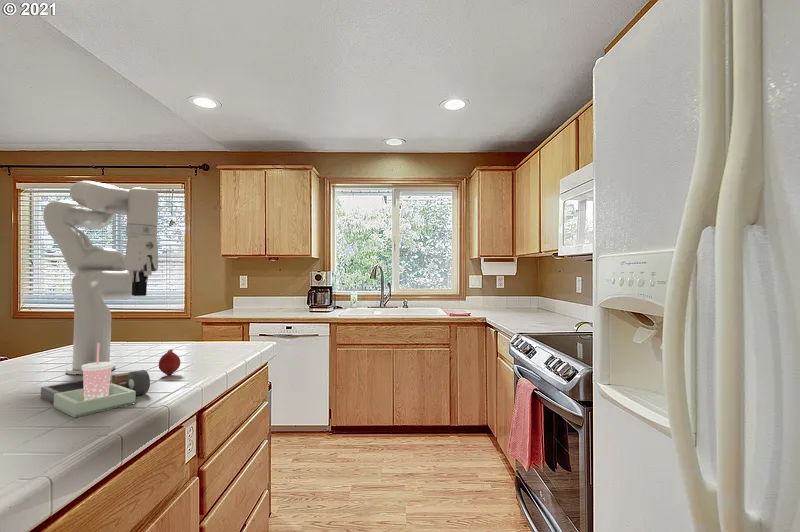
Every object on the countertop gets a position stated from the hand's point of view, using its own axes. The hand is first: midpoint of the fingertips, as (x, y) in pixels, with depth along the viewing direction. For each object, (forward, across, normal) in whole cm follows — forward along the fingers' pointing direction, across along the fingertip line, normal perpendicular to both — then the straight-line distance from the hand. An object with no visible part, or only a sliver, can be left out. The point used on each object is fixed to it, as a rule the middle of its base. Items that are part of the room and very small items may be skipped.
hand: (139, 295), depth 118 cm
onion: (+25, 0, -10) cm, 27 cm away
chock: (+25, -8, +5) cm, 26 cm away
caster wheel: (+24, -13, +5) cm, 28 cm away
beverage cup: (+24, -15, +15) cm, 32 cm away
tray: (+24, -15, +15) cm, 32 cm away
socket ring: (+25, -2, +15) cm, 29 cm away
